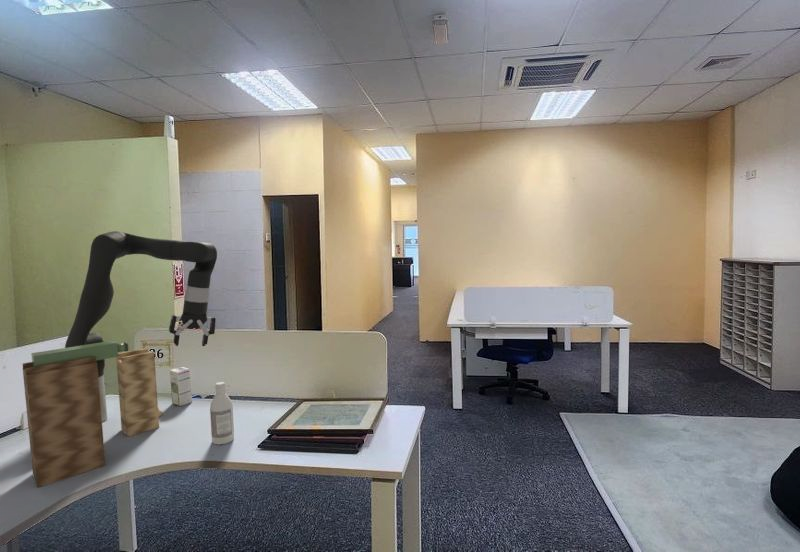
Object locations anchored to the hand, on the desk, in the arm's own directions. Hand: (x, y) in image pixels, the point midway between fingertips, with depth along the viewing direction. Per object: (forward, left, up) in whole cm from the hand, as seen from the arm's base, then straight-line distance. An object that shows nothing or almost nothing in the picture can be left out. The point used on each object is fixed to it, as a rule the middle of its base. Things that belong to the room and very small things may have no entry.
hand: (190, 345), depth 151 cm
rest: (-21, -6, -31) cm, 38 cm away
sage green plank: (-12, -28, +1) cm, 30 cm away
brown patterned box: (-14, -33, -31) cm, 47 cm away
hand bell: (-28, +3, -31) cm, 42 cm away
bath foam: (+14, -1, -31) cm, 35 cm away
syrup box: (-28, +17, -31) cm, 45 cm away
